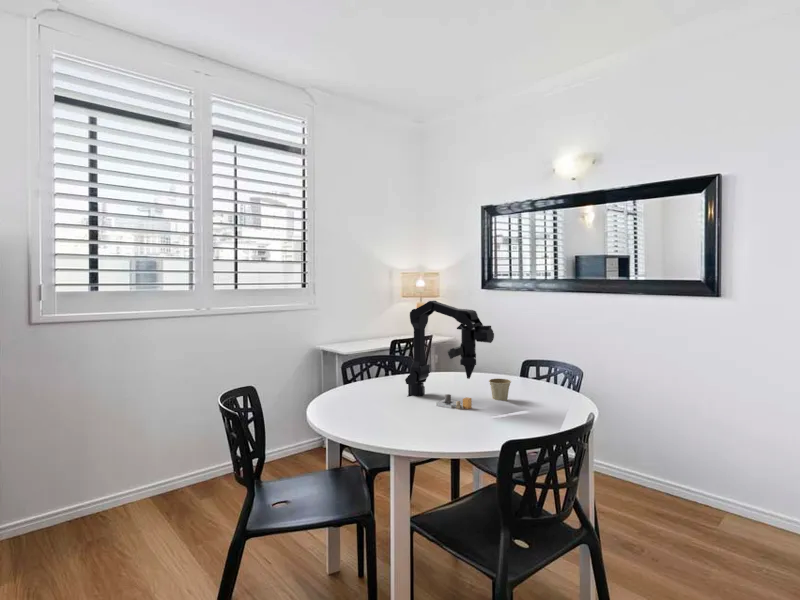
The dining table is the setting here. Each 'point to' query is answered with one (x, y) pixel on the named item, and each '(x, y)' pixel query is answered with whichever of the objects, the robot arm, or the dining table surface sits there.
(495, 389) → the flower pot
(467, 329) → the robot arm
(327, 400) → the dining table surface
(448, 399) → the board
